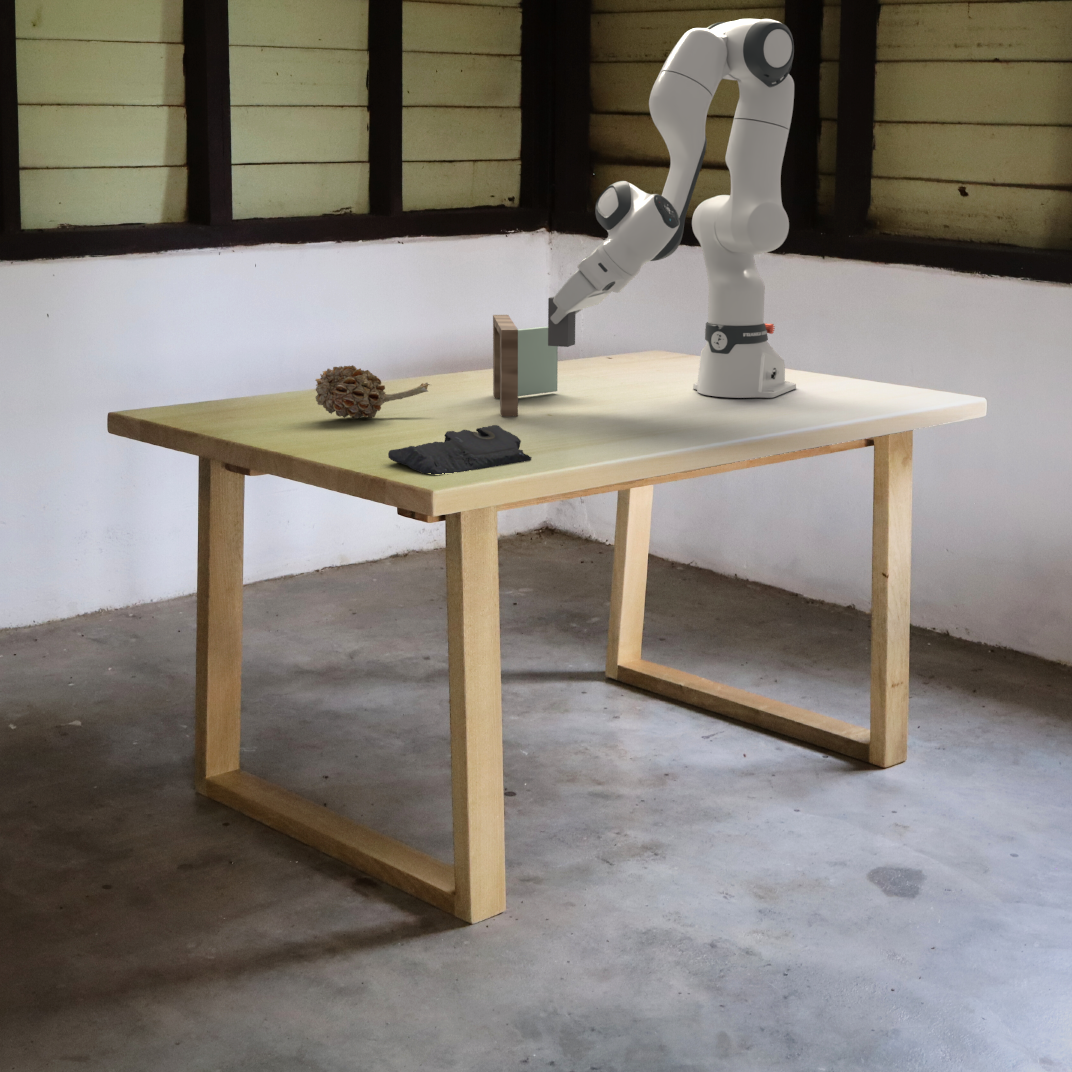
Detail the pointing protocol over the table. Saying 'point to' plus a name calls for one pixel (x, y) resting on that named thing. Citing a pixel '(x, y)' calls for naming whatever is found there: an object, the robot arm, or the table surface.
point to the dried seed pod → (356, 392)
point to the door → (536, 362)
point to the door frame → (505, 364)
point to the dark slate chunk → (463, 451)
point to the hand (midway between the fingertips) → (558, 319)
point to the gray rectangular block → (560, 328)
